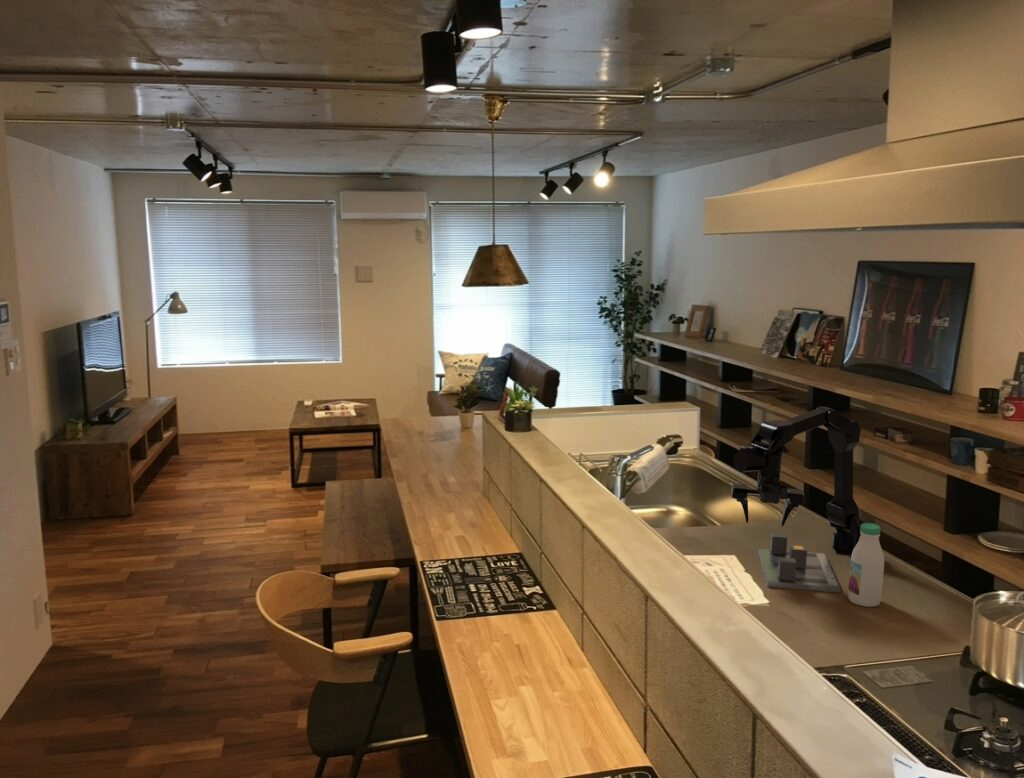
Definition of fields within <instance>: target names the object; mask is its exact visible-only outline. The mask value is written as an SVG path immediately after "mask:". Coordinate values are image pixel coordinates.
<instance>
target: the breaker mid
mask: <svg viewBox="0 0 1024 778" xmlns="http://www.w3.org/2000/svg"><path fill="white" fill-rule="evenodd" d="M789 551H790V555H789V558H795V561H796V568H806V559H807V552H808V550H807V546H802V545H789Z"/></svg>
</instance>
